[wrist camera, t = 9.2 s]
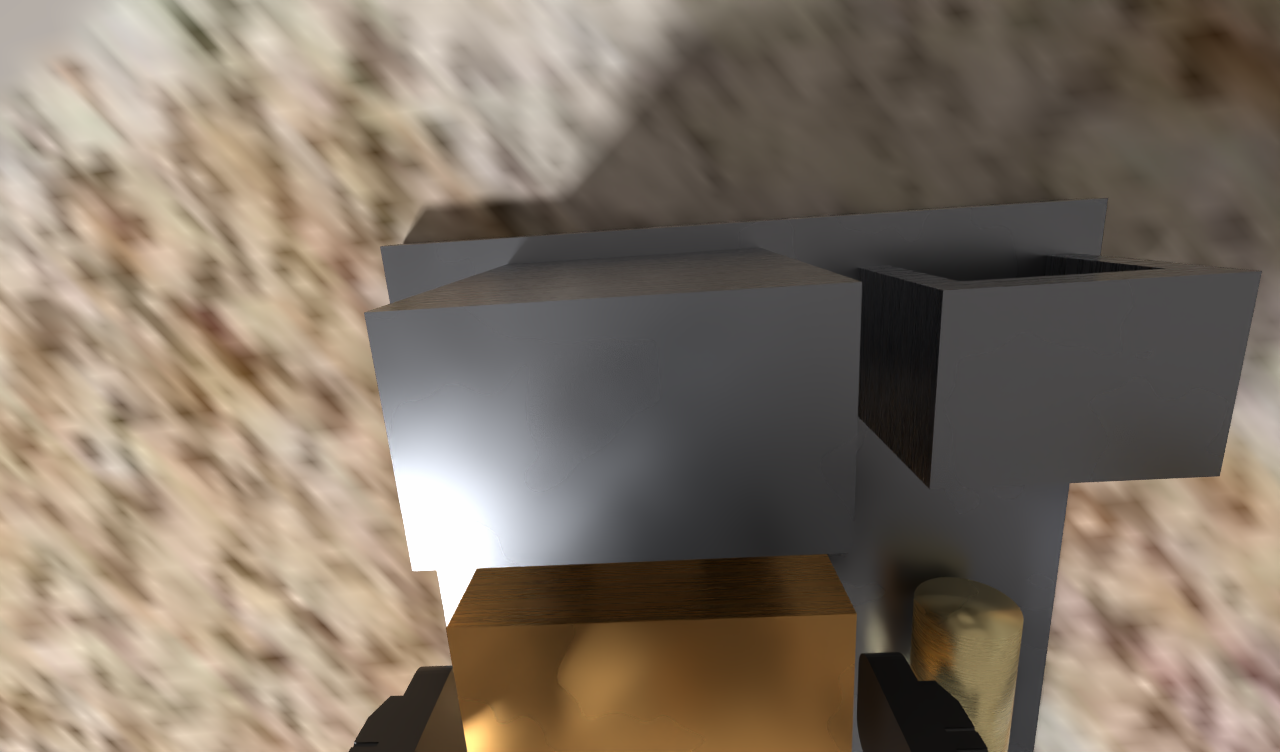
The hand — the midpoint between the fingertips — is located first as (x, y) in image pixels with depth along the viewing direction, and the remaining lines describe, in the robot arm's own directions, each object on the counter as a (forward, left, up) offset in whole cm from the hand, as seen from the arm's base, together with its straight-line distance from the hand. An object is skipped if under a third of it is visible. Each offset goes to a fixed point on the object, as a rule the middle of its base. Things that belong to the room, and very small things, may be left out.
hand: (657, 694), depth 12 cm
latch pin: (-6, +2, -2) cm, 7 cm away
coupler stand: (-2, -1, -3) cm, 4 cm away
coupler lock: (0, 0, -2) cm, 2 cm away
